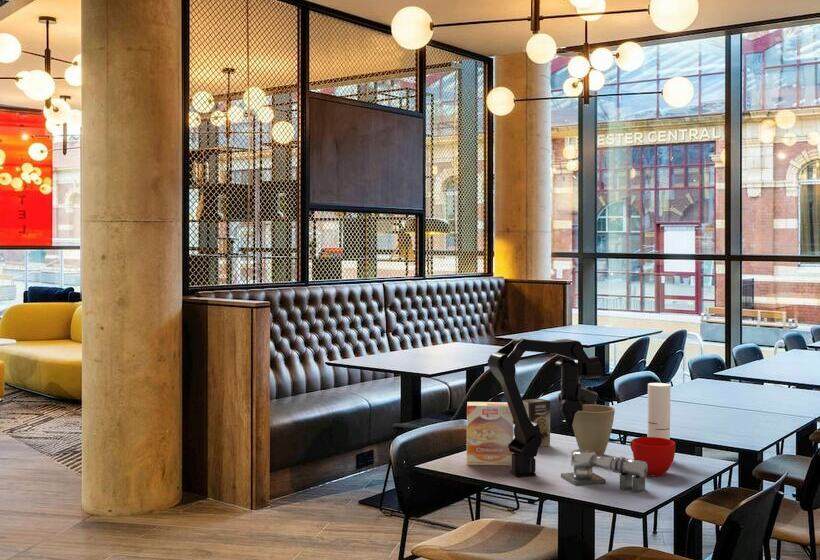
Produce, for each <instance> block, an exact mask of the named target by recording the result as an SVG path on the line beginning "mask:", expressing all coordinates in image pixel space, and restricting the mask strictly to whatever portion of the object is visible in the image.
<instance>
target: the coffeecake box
mask: <svg viewBox="0 0 820 560" xmlns="http://www.w3.org/2000/svg"><path fill="white" fill-rule="evenodd" d="M466 403H467V404H466V465H467V466H511V467H512V452H510V451H509V448H508V445H509V444H510V443H511V442H512V441H513V439H514V420H513V417H512V414H511V412H510V409H509V406H508V403H507V401H506V402H504V401H503V402H501V401H498V402H497V401H496V402H495V401H494V402H493V401H467V402H466Z"/></svg>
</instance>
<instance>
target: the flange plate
mask: <svg viewBox="0 0 820 560" xmlns="http://www.w3.org/2000/svg"><path fill="white" fill-rule="evenodd" d="M593 468H594V467H593ZM593 468H576V467H573V472H562V473H560V477H561V478H562V479H564V480H565V479H566V481H567V482H569V483H570V484H572V485H574V486H581V485H584V484H586V485H595V483H599V484H606V483H607V480H606V479H605V478H604V477H603V476H600V475H599V474H596V473H594V472H593ZM584 486H585V485H584Z"/></svg>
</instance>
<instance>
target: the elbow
mask: <svg viewBox="0 0 820 560" xmlns="http://www.w3.org/2000/svg"><path fill="white" fill-rule="evenodd" d="M619 458H620V457H617V456H614V457H611V456H610V457H609V456H606V455H605V456H604V455H603V456H599V455H595V452H594V451H591V450H583V449H579V448H578V449H573V450H570V466H572V467H573V468H574V467H576V468H596V469H602V470H608V471H611V472H612V473H617V474H619V473H618V472H617V461H618V459H619Z"/></svg>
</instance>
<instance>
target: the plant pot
mask: <svg viewBox="0 0 820 560" xmlns="http://www.w3.org/2000/svg"><path fill="white" fill-rule="evenodd" d="M615 411H616V407H613V406H608V405H602V404H583V411H577V412H576V413H575V416H574V420H573V424H572V430H573V433H574V437H575V440H576V444H577V446H578V450H579V449H583V450H591V451H594V452H595V455H599V456H604V455H605V453H606V450H607V447H608V444H609V441H610V437H611V434H612V429H613V425H614V419H615Z"/></svg>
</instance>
